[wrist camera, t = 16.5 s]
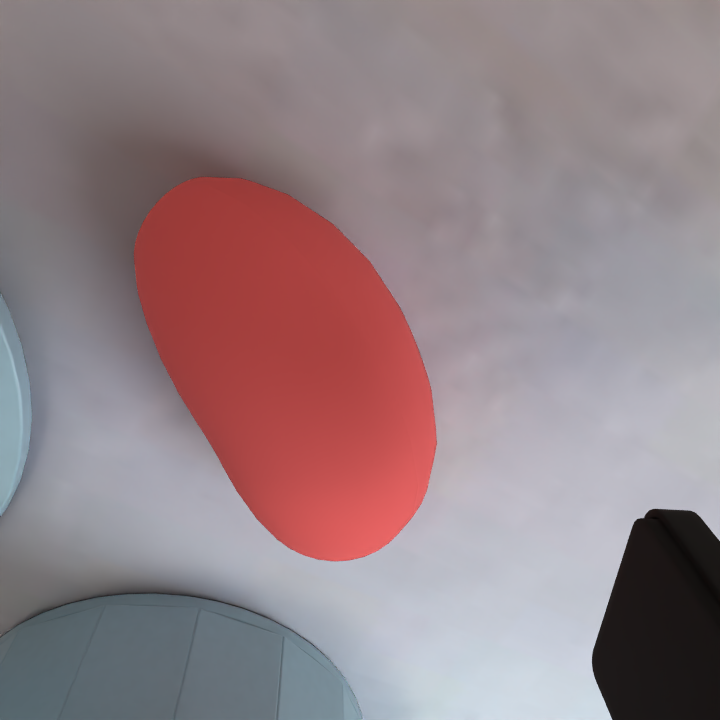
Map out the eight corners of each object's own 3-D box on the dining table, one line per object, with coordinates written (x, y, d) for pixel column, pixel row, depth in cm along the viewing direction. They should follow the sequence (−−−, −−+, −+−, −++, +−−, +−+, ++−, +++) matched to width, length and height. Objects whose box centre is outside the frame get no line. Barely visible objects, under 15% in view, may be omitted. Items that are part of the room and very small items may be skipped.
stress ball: (424, 165, 16) (308, 102, 10) (489, 521, 16) (414, 656, 11) (246, 215, 18) (64, 187, 12) (309, 531, 18) (163, 648, 13)
